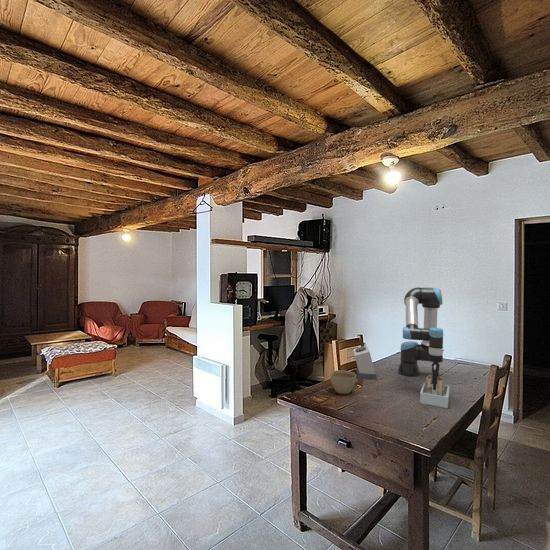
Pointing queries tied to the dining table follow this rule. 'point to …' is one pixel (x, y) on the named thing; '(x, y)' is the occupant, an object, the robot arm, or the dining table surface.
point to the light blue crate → (434, 397)
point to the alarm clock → (364, 363)
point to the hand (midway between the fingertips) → (435, 392)
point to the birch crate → (439, 385)
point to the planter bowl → (343, 381)
